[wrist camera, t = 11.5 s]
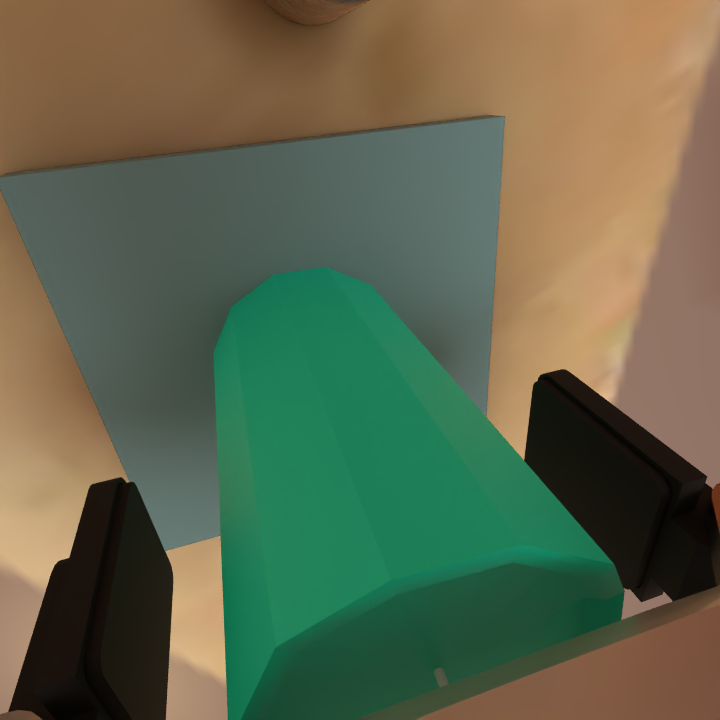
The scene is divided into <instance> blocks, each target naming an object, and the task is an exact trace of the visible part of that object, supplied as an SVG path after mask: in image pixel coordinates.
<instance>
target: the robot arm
mask: <svg viewBox="0 0 720 720" xmlns="http://www.w3.org/2000/svg"><path fill="white" fill-rule="evenodd" d="M524 461H525V462H526V464H527V465H528V466H529V467H530V468H531V469H532V470H533V472H534V473H535V474H536V475H537V476H538V477H539V478H540V480H541V481H542V482H543V483H544V484H545V485H546V486H547V488H548V489H549V490H550V491H551V492H552V493H553V495H554V496H555V497H556V498H557V499H558V500H559V501H560V503H561V504H562V505H563V506H564V507H565V508H566V509H567V511H568V512H569V513H570V514H571V515H572V516H573V517H574V519H575V520H576V521H577V522H578V523H579V524H580V526H581V527H582V528H583V529H584V530H585V531H586V532H587V534H588V535H589V536H590V537H591V538H592V539H593V540H594V542H595V543H596V544H597V545H598V546H599V547H600V548H601V550H602V551H603V552H604V553H605V554H606V555H607V556H608V558H609V559H610V560H611V561H612V562H613V563H614V565H615V568H616V570H617V573H618V575H619V578H620V581H621V583H622V586H623V588H625V589H630V590H631V591H632V592H633V593H634V594H635V595H636V597H637V598H638V599H639V600H640V601H641V602H643V601H646V600H649V599H651V598H654V597H657V596H660V595H662V594H663V592H665V593H666V594H667V595H668V596H669V597H670V598H671V599H672V602H671V603H667V604H664V605H662V606H659V607H656V608H653V609H651V610H648V611H645V612H642V613H640V614H637V615H634V616H632V617H629V618H626V619H623V620H620V621H618V622H615V623H612V624H610V625H607V626H604V627H601V628H599V629H596V630H593V631H591V632H588V633H585V634H582V635H580V636H577V637H574V638H572V639H569V640H566V641H563V642H561V643H558V644H555V645H553V646H550V647H547V648H545V649H542V650H539V651H536V652H534V653H531V654H528V655H526V656H523V657H520V658H518V659H515V660H512V661H510V662H507V663H504V664H502V665H499V666H496V667H494V668H491V669H488V670H486V671H483V672H480V673H478V674H475V675H472V676H470V677H467V678H464V679H462V680H459V681H456V682H454V683H451V684H448V685H446V686H443V687H440V688H438V689H435V690H432V691H430V692H427V693H424V694H422V695H419V696H416V697H414V698H411V699H408V700H406V701H403V702H400V703H398V704H395V705H393V706H390V707H387V708H385V709H382V710H379V711H377V712H374V713H372V714H369V715H366V716H364V717H361V718H358V719H356V720H720V483H718V484H716V485H715V487H714V488H713V489H712V488H711V487H710V486H708V485H707V484H706V483H705V482H706V479H707V476H706V475H705V474H703V473H702V472H701V471H699V470H698V469H696V468H695V467H694V466H693V465H691V464H690V463H689V462H687V461H686V460H685V459H683V458H682V457H681V456H679V455H678V454H677V453H676V452H674V451H673V450H672V449H670V448H669V447H668V446H666V445H665V444H664V443H662V442H661V441H660V440H658V439H657V438H655V437H654V436H653V435H652V434H650V433H649V432H648V431H647V430H645V429H644V428H643V427H641V426H640V425H639V424H637V423H636V422H635V421H633V420H632V419H631V418H629V417H628V416H627V415H625V414H624V413H623V412H622V411H620V410H619V409H618V408H616V407H615V406H614V405H612V404H611V403H610V402H608V401H607V400H606V399H604V398H603V397H602V396H600V395H599V394H598V393H596V392H595V391H594V390H593V389H591V388H590V387H589V386H587V385H586V384H585V383H583V382H582V381H581V380H579V379H578V378H577V377H575V376H574V375H573V374H571V373H570V372H569V371H567V370H564V369H561V370H557V371H553V372H549V373H545V374H542V375H540V377H539V378H538V381H537V382H535V383H534V385H533V391H532V400H531V408H530V416H529V425H528V433H527V442H526V450H525V459H524ZM172 596H173V572H172V567H171V564H170V561H169V559H168V557H167V554H166V552H165V550H164V548H163V545H162V543H161V541H160V538H159V536H158V534H157V531H156V529H155V527H154V525H153V522H152V520H151V518H150V515H149V513H148V511H147V509H146V506H145V504H144V502H143V499H142V497H141V495H140V492H139V490H138V488H137V486H136V484H135V483H134V482H129V483H126V482H125V480H124V479H123V478H121V477H120V478H115V479H111V480H107V481H103V482H99V483H95V484H92V485H91V486H90V488H89V490H88V494H87V497H86V501H85V504H84V508H83V511H82V515H81V519H80V522H79V526H78V529H77V533H76V536H75V540H74V543H73V547H72V550H71V554H70V558H68V559H64V560H60V561H58V562H57V564H56V565H55V566H54V568H53V571H52V573H51V576H50V579H49V582H48V586H47V589H46V592H45V595H44V598H43V602H42V605H41V608H40V612H39V615H38V618H37V621H36V624H35V628H34V631H33V634H32V637H31V640H30V644H29V647H28V650H27V653H26V657H25V660H24V663H23V666H22V669H21V673H20V676H19V679H18V682H17V686H16V689H15V692H14V695H13V698H12V702H11V705H10V708H9V711H8V712H7V713H3V714H1V715H0V720H166V704H167V683H168V668H169V650H170V632H171V614H172Z"/></svg>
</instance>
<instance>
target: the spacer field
mask: <svg viewBox="0 0 720 720" xmlns="http://www.w3.org/2000/svg"><path fill="white" fill-rule="evenodd" d="M265 1H266V2H267V4H268V5H269V6H270V7H271V8H272V9H274V10H275V11H276V12H277V13H278V14H280V15H281V16H283V17H284V18H286V19H288V20H290V21H293V22H296V23H299V24H304V25H320V24H325V23H328V22H330V21H332V20H334V19H336V18H338V17H340V16H342V15H344V14H345V13H347V12H349V11H351V10H353V9H355V8H357V7H358V6H360V5H362V4H364V3H366V2H368V1H369V0H265Z"/></svg>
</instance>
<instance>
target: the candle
mask: <svg viewBox="0 0 720 720" xmlns="http://www.w3.org/2000/svg"><path fill="white" fill-rule="evenodd" d="M213 355H214V380H215V405H216V430H217V455H218V480H219V506H220V531H221V556H222V581H223V606H224V631H225V657H226V682H227V707H228V720H356V719H358V718H361V717H364V716H366V715H369V714H372V713H374V712H377V711H379V710H382V709H385V708H387V707H390V706H393V705H395V704H398V703H400V702H403V701H406V700H408V699H411V698H414V697H416V696H419V695H422V694H424V693H427V692H430V691H432V690H435V689H438V688H440V687H443V686H446V685H448V684H451V683H454V682H456V681H459V680H462V679H464V678H467V677H470V676H472V675H475V674H478V673H480V672H483V671H486V670H488V669H491V668H494V667H496V666H499V665H502V664H504V663H507V662H510V661H512V660H515V659H518V658H520V657H523V656H526V655H528V654H531V653H534V652H536V651H539V650H542V649H545V648H547V647H550V646H553V645H555V644H558V643H561V642H563V641H566V640H569V639H572V638H574V637H577V636H580V635H582V634H585V633H588V632H591V631H593V630H596V629H599V628H601V627H604V626H607V625H610V624H612V623H615V622H618V621H620V620H621V617H622V608H623V600H624V592H625V591H624V588H623V586H622V583H621V581H620V578H619V575H618V573H617V570H616V568H615V565H614V563H613V562H612V561H611V560H610V559H609V558H608V556H607V555H606V554H605V553H604V552H603V551H602V550H601V548H600V547H599V546H598V545H597V544H596V543H595V542H594V540H593V539H592V538H591V537H590V536H589V535H588V534H587V532H586V531H585V530H584V529H583V528H582V527H581V526H580V524H579V523H578V522H577V521H576V520H575V519H574V517H573V516H572V515H571V514H570V513H569V512H568V511H567V509H566V508H565V507H564V506H563V505H562V504H561V503H560V501H559V500H558V499H557V498H556V497H555V496H554V495H553V493H552V492H551V491H550V490H549V489H548V488H547V486H546V485H545V484H544V483H543V482H542V481H541V480H540V478H539V477H538V476H537V475H536V474H535V473H534V472H533V470H532V469H531V468H530V467H529V466H528V465H527V464H526V462H525V461H524V460H523V459H522V458H521V457H520V455H519V454H518V453H517V452H516V451H515V450H514V449H513V447H512V446H511V445H510V444H509V443H508V442H507V441H506V439H505V438H504V437H503V436H502V435H501V434H500V433H499V431H498V430H497V429H496V428H495V427H494V426H493V425H492V423H491V422H490V421H489V420H488V419H487V418H486V416H485V415H484V414H483V413H482V412H481V411H480V410H479V408H478V407H477V406H476V405H475V404H474V403H473V402H472V400H471V399H470V398H469V397H468V396H467V395H466V394H465V392H464V391H463V390H462V389H461V388H460V387H459V385H458V384H457V383H456V382H455V381H454V380H453V379H452V377H451V376H450V375H449V374H448V373H447V372H446V371H445V369H444V368H443V367H442V366H441V365H440V364H439V363H438V361H437V360H436V359H435V358H434V357H433V356H432V355H431V353H430V352H429V351H428V350H427V349H426V348H425V346H424V345H423V344H422V343H421V342H420V341H419V340H418V338H417V337H416V336H415V335H414V334H413V333H412V332H411V330H410V329H409V328H408V327H407V326H406V325H405V324H404V322H403V321H402V320H401V319H400V318H399V317H398V315H397V314H396V313H395V312H394V311H393V310H392V309H391V307H390V306H389V305H388V304H387V303H386V302H385V301H384V299H383V298H382V297H381V296H380V295H379V294H378V293H377V291H376V290H375V289H374V288H373V287H372V286H371V285H370V284H368V283H365V282H363V281H360V280H358V279H355V278H353V277H350V276H348V275H345V274H343V273H340V272H338V271H335V270H333V269H330V268H328V267H321V268H314V269H308V270H301V271H294V272H287V273H281V274H274V275H272V276H271V277H270V278H268V279H267V280H266V281H264V282H263V283H262V284H260V285H259V286H258V287H256V288H255V289H254V290H253V291H251V292H250V293H249V294H247V295H246V296H245V297H243V298H242V299H241V300H239V301H238V302H237V303H236V304H234V305H233V306H232V307H231V308H230V311H229V314H228V316H227V319H226V321H225V324H224V326H223V329H222V331H221V334H220V337H219V339H218V342H217V344H216V347H215V349H214V352H213Z"/></svg>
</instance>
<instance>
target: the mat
mask: <svg viewBox="0 0 720 720" xmlns="http://www.w3.org/2000/svg"><path fill="white" fill-rule="evenodd" d="M504 124H505V116H493V115H489V116H481V117H472V118H464V119H456V120H447V121H439V122H430V123H422V124H414V125H405V126H397V127H389V128H380V129H372V130H364V131H355V132H347V133H339V134H330V135H322V136H314V137H305V138H297V139H289V140H280V141H272V142H263V143H255V144H247V145H238V146H230V147H222V148H213V149H205V150H197V151H188V152H180V153H172V154H163V155H155V156H147V157H138V158H130V159H122V160H113V161H105V162H96V163H88V164H80V165H71V166H63V167H55V168H46V169H38V170H30V171H21V172H13V173H6V174H4V175H2V176H0V190H1V192H2V195H3V197H4V199H5V202H6V204H7V206H8V208H9V211H10V213H11V215H12V217H13V220H14V222H15V224H16V226H17V229H18V231H19V233H20V235H21V238H22V240H23V242H24V244H25V247H26V249H27V251H28V253H29V256H30V258H31V260H32V262H33V265H34V267H35V269H36V271H37V274H38V276H39V278H40V281H41V283H42V285H43V287H44V290H45V292H46V294H47V296H48V299H49V301H50V303H51V305H52V308H53V310H54V312H55V314H56V317H57V319H58V321H59V323H60V326H61V328H62V330H63V332H64V335H65V337H66V339H67V341H68V344H69V346H70V348H71V350H72V353H73V355H74V357H75V359H76V362H77V364H78V366H79V369H80V371H81V373H82V375H83V378H84V380H85V382H86V384H87V387H88V389H89V391H90V393H91V396H92V398H93V400H94V402H95V405H96V407H97V409H98V411H99V414H100V416H101V418H102V420H103V423H104V425H105V427H106V429H107V432H108V434H109V436H110V438H111V441H112V443H113V445H114V448H115V450H116V452H117V454H118V457H119V459H120V461H121V463H122V466H123V468H124V470H125V472H126V475H127V477H128V479H129V481H130V482H134V483H135V484H136V486H137V488H138V490H139V492H140V495H141V497H142V499H143V502H144V504H145V506H146V509H147V511H148V513H149V515H150V518H151V520H152V522H153V525H154V527H155V529H156V531H157V534H158V536H159V538H160V541H161V543H162V545H163V548H164V550H165V551H167V550H170V549H174V548H177V547H181V546H184V545H188V544H192V543H195V542H199V541H202V540H206V539H210V538H213V537H217V536H220V535H221V531H220V506H219V480H218V455H217V430H216V405H215V380H214V355H213V352H214V349H215V347H216V344H217V342H218V339H219V337H220V334H221V331H222V329H223V326H224V324H225V321H226V319H227V316H228V314H229V311H230V308H231V307H232V306H233V305H234V304H236V303H237V302H238V301H239V300H241V299H242V298H243V297H245V296H246V295H247V294H249V293H250V292H251V291H253V290H254V289H255V288H256V287H258V286H259V285H260V284H262V283H263V282H264V281H266V280H267V279H268V278H270V277H271V276H272V275H274V274H281V273H287V272H294V271H301V270H308V269H314V268H321V267H328V268H330V269H333V270H335V271H338V272H340V273H343V274H345V275H348V276H350V277H353V278H355V279H358V280H360V281H363V282H365V283H368V284H370V285H371V286H372V287H373V288H374V289H375V290H376V291H377V293H378V294H379V295H380V296H381V297H382V298H383V299H384V301H385V302H386V303H387V304H388V305H389V306H390V307H391V309H392V310H393V311H394V312H395V313H396V314H397V315H398V317H399V318H400V319H401V320H402V321H403V322H404V324H405V325H406V326H407V327H408V328H409V329H410V330H411V332H412V333H413V334H414V335H415V336H416V337H417V338H418V340H419V341H420V342H421V343H422V344H423V345H424V346H425V348H426V349H427V350H428V351H429V352H430V353H431V355H432V356H433V357H434V358H435V359H436V360H437V361H438V363H439V364H440V365H441V366H442V367H443V368H444V369H445V371H446V372H447V373H448V374H449V375H450V376H451V377H452V379H453V380H454V381H455V382H456V383H457V384H458V385H459V387H460V388H461V389H462V390H463V391H464V392H465V394H466V395H467V396H468V397H469V398H470V399H471V400H472V402H473V403H474V404H475V405H476V406H477V407H478V408H479V410H480V411H481V412H482V413H483V414H484V415H485V416H486V414H487V398H488V381H489V365H490V349H491V333H492V317H493V301H494V285H495V269H496V253H497V236H498V220H499V204H500V188H501V172H502V156H503V140H504Z"/></svg>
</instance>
